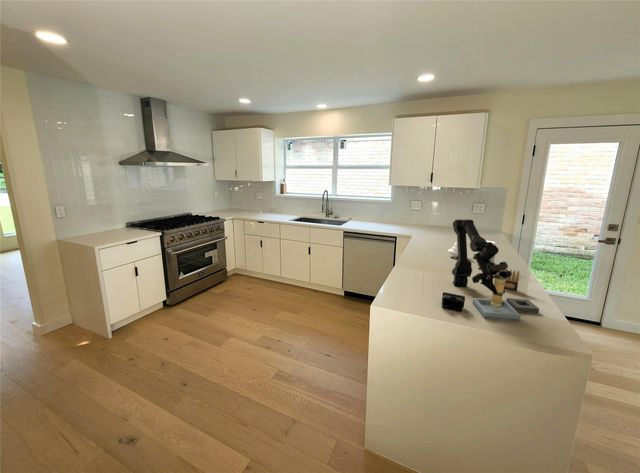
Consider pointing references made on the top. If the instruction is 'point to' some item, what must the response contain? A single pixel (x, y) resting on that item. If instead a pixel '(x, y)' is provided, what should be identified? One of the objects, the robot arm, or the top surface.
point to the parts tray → (496, 310)
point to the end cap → (453, 302)
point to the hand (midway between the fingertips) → (500, 293)
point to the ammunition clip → (512, 281)
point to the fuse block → (523, 305)
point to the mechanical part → (454, 250)
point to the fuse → (498, 297)
